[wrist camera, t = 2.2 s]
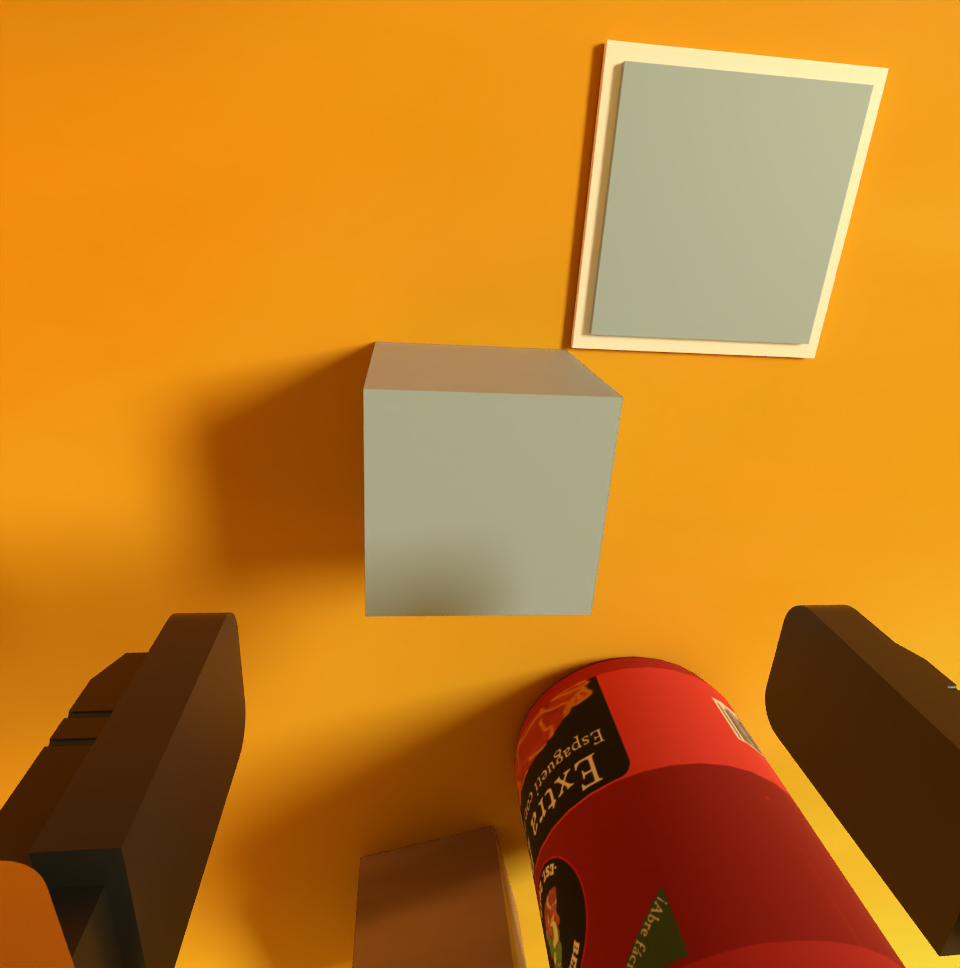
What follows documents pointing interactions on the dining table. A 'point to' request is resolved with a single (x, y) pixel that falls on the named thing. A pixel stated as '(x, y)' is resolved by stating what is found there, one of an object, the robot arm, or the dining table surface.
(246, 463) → the dining table surface
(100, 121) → the dining table surface
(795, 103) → the swatch
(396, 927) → the walnut block
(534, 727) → the canned food
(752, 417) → the dining table surface
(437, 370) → the light grey cube
